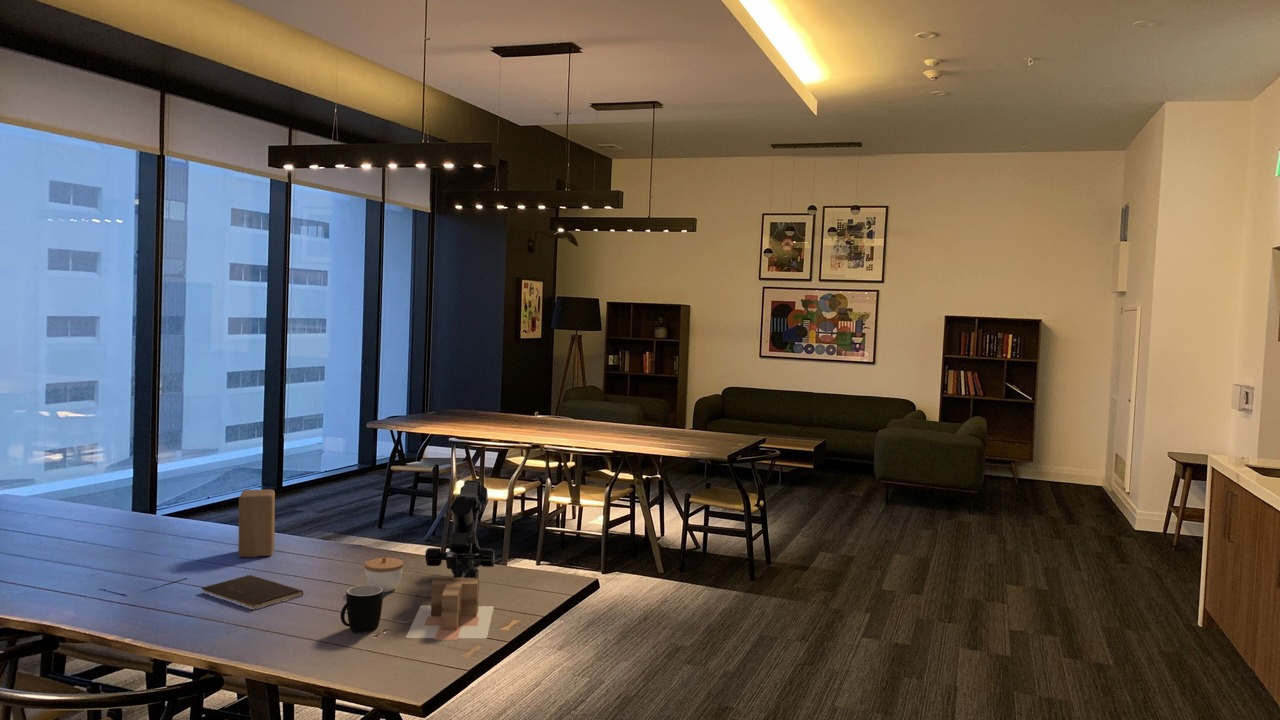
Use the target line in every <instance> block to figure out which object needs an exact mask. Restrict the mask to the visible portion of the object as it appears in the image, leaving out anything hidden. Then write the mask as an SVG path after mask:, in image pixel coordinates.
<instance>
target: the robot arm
mask: <svg viewBox="0 0 1280 720" xmlns="http://www.w3.org/2000/svg"><path fill="white" fill-rule="evenodd" d="M488 494H489V493H488V488H487V487H485V486H484V485H482V481H480V480H478V479H467V480H464V483H463V485H462V487H460V491H459V494H456V496H455V497H454V499H453V500H451V501H452V502H451V504H450V508H449V509H450V513H451V515H452V517H451V518H452V522H453V528H452V532H451V533H450V538H449V540H450V541H449V548H448V549H449V551H447V552H442V548H441V547H428V548H426V549H425V554H424V556H425V557H424V558H425V563H426V566H428V567H440V565H441V564H442V563H443V562H442V561H445V562H446V569H448V570H449V569H450V571H451V573H452V576H453V577H452V578H479V573H480V572H479V571H480V570H479V569H478V568H479V567H483V568H492V567H495V551H494V549H493V548H481V547H480V546H479V540H478V534H477V526H478V521H479V520H478V519H479V515H480V514H482V513H483V512H484V511H485V508H486V505H488V500H489V499H488V496H489V495H488ZM479 579H480V578H479Z"/></svg>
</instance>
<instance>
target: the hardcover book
mask: <svg viewBox="0 0 1280 720" xmlns="http://www.w3.org/2000/svg"><path fill="white" fill-rule="evenodd" d="M201 590H202V592H203V591H205V592H207V593H211V594H213V595H216V596H219V597H222V598H225V599H228V600H231V601H235V602H237V603H240V604H244V605H245V606H248V607H251V608H253V609H256V608H259V607H262V606H265V605H269V604H273V603H276V602H279V601H283V600H286V599H290V598H293V597H296V596H299V595H303V596H304V591H303V590H301V589H299V588H295V587H292V586H288V585H286V584H282V583H279V582H275V581H271V580H270V579H269V580H268V579H265V578H262V577H259V576H256V575H252V574H249V575H244V576H241V577H237V578H233V579H229V580H226V581H221V582H218V583H217V582H216V583H214V584H211V585H206V586H204V587H201ZM293 599H294V598H293ZM290 600H291V599H290ZM283 602H284V601H283Z"/></svg>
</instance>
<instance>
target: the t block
mask: <svg viewBox="0 0 1280 720" xmlns="http://www.w3.org/2000/svg"><path fill="white" fill-rule="evenodd" d="M479 583H480V578H453V577H433V580H432V582H431V600H430V603H431V604H430V606H431V616H441V630H457V628H458V625H459V622H460V619H461V617H477V613H478V606H479V601H480V600H479V597H480V596H479V591H480V584H479Z"/></svg>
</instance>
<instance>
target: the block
mask: <svg viewBox="0 0 1280 720" xmlns="http://www.w3.org/2000/svg"><path fill="white" fill-rule="evenodd" d="M275 495H276V493H275V489H245V490H242V491H241V494H240V495H239V497H238V556H239V558H241V557H247V558H258V557H257V556H269V557H272V555H273V552H274V550H275V549H274V548H275V530H276V529H275V527H276V526H275V525H276V524H275V519H276V518H275V513H276V511H275V509H276V507H275V506H276V503H275V502H276V499H275V498H276V496H275ZM254 556H255V557H254Z"/></svg>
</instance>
